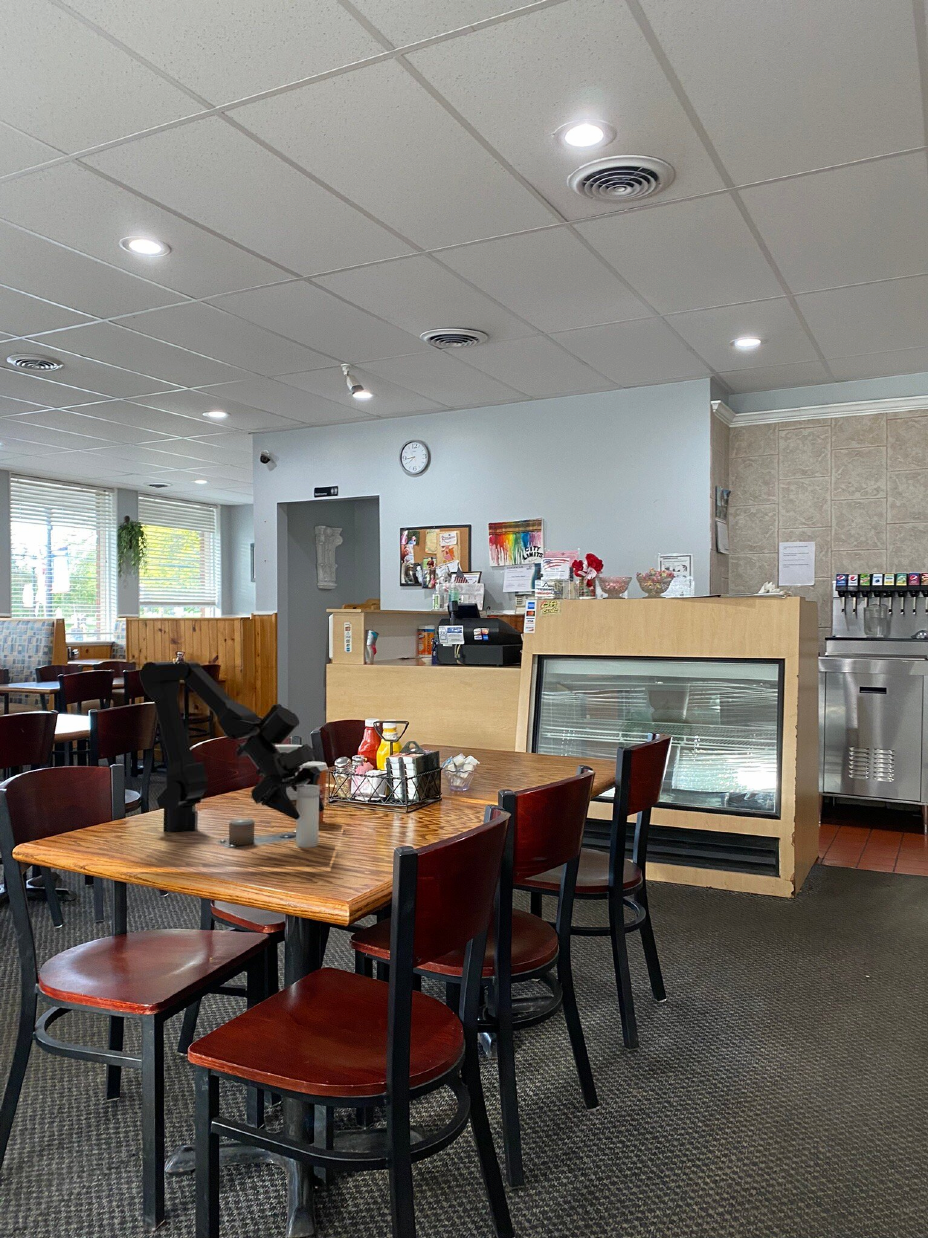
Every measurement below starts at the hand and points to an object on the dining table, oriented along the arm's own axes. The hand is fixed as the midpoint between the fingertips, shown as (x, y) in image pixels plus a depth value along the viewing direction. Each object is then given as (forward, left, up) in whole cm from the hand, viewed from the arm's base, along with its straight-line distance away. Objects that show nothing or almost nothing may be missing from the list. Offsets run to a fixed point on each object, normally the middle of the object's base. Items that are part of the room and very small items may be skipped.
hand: (310, 814), depth 187 cm
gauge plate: (-10, +6, -7) cm, 14 cm away
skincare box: (-13, +58, -7) cm, 60 cm away
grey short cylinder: (-15, +3, -6) cm, 16 cm away
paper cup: (-3, +28, -7) cm, 29 cm away
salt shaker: (-1, 0, -7) cm, 7 cm away
